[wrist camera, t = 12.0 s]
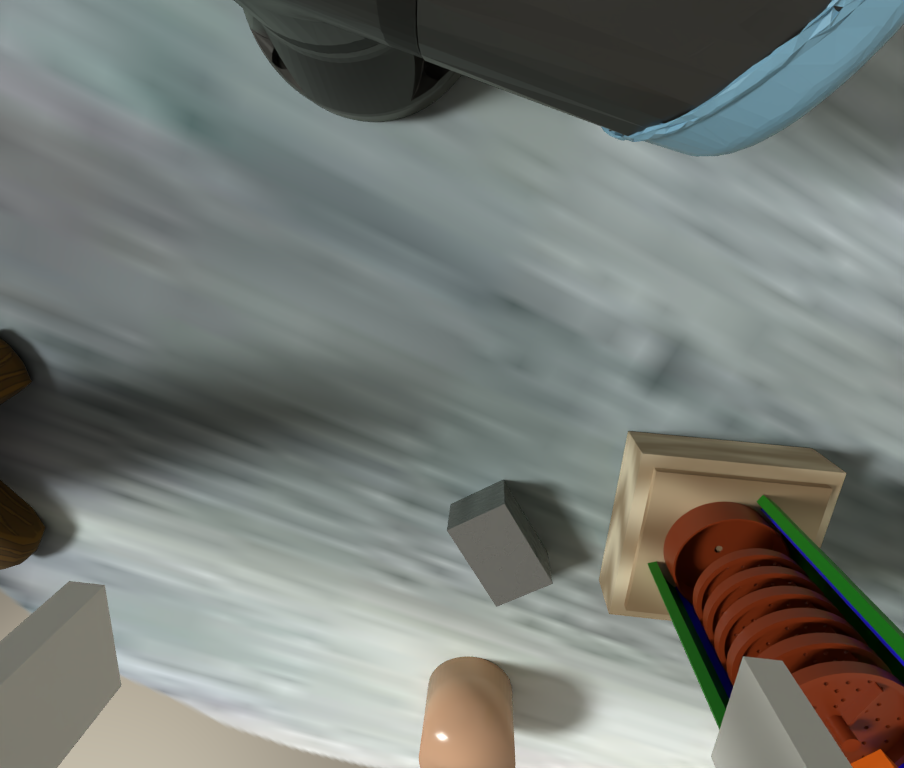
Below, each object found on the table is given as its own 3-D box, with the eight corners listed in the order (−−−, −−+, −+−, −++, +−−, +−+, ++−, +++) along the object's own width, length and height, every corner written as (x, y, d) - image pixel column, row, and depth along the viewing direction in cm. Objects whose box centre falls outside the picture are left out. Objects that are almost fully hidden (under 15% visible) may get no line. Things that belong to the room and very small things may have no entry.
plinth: (628, 431, 40) (644, 457, 36) (812, 448, 40) (852, 477, 35) (599, 580, 45) (610, 619, 40) (764, 597, 44) (794, 639, 40)
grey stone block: (450, 502, 44) (447, 530, 40) (503, 478, 43) (504, 503, 39) (496, 574, 46) (496, 606, 42) (547, 552, 44) (552, 583, 41)
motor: (729, 468, 36) (998, 754, 17) (822, 537, 37) (1174, 878, 18) (629, 565, 39) (763, 902, 20) (718, 626, 40) (927, 1000, 21)
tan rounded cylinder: (430, 651, 49) (421, 721, 42) (516, 661, 48) (520, 732, 42) (426, 715, 51) (416, 790, 44) (507, 725, 51) (509, 802, 44)
